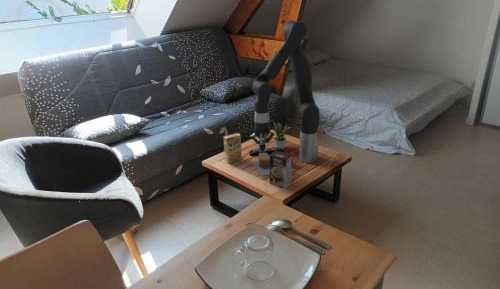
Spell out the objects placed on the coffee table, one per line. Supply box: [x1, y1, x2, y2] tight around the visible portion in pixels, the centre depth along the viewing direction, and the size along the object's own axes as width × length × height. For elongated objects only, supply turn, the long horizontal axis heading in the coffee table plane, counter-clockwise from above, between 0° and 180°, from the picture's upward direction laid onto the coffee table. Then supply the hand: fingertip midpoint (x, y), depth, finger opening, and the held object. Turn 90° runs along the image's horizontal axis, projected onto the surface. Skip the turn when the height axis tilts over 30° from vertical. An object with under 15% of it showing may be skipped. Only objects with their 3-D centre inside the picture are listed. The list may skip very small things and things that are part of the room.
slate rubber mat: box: [253, 160, 296, 177], centre depth 195 cm, size 19×16×1 cm
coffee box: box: [269, 150, 293, 189], centre depth 176 cm, size 9×6×16 cm
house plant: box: [269, 121, 291, 150], centre depth 212 cm, size 14×14×16 cm
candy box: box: [223, 132, 243, 164], centre depth 200 cm, size 9×4×15 cm, turn 118°
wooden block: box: [258, 152, 294, 167], centre depth 196 cm, size 9×4×18 cm
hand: (262, 150), depth 189 cm, fingers closed
